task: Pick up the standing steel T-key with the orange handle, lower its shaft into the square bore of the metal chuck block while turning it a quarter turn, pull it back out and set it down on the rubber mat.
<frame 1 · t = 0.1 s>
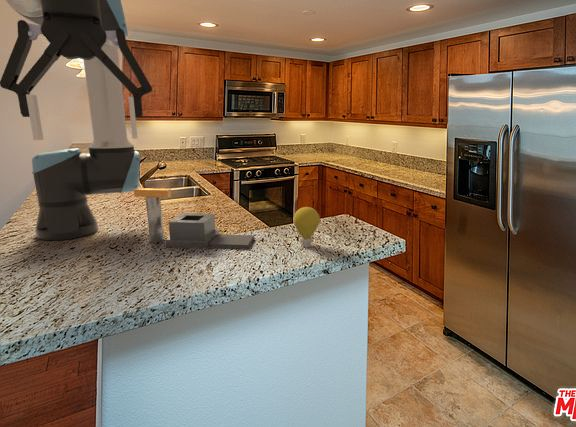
hand: (88, 139, 58), 28 cm above the countertop, fingers open, 13 cm apart
chuck: (194, 241, 96), on the countertop
key: (156, 240, 97), on the countertop
mat: (232, 243, 95), on the countertop
light bulb: (306, 246, 93), on the countertop
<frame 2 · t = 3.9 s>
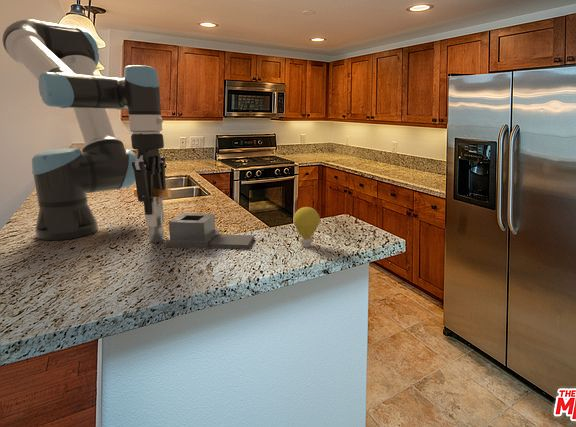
hand: (155, 223, 96), 5 cm above the countertop, fingers closed on key, 4 cm apart
key: (156, 240, 97), on the countertop, touching gripper
everything else where it was.
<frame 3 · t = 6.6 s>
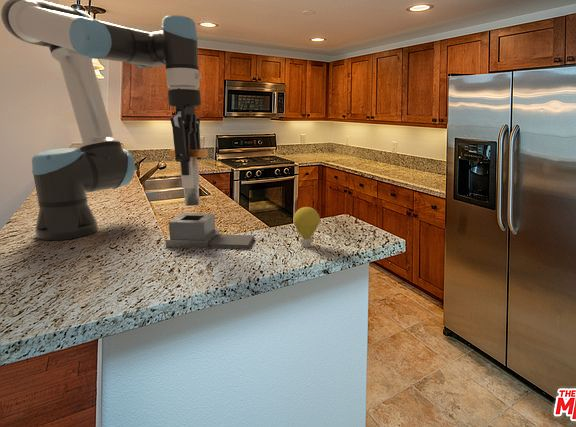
hand: (191, 186, 93), 15 cm above the countertop, fingers closed on key, 4 cm apart
key: (192, 204, 94), point 10 cm above the countertop, touching gripper
everything else where it was.
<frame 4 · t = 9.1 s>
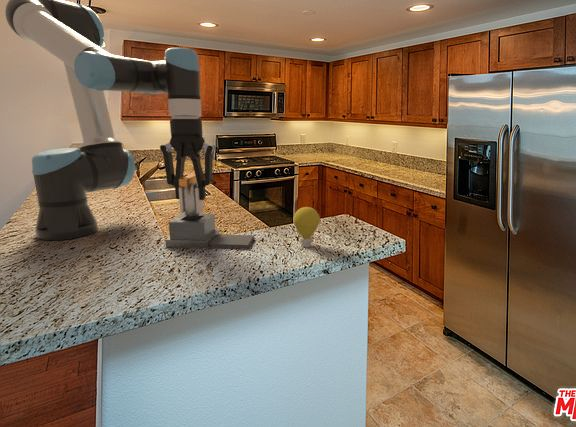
hand: (191, 211, 94), 8 cm above the countertop, fingers closed on key, 4 cm apart
key: (192, 228, 96), point 4 cm above the countertop, touching gripper
everything else where it was.
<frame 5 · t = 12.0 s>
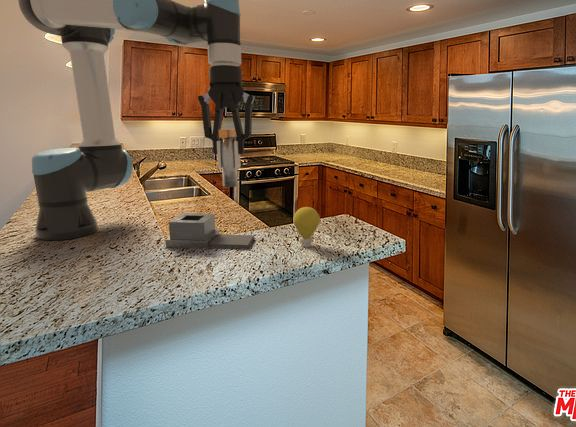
hand: (229, 167, 90), 20 cm above the countertop, fingers closed on key, 4 cm apart
key: (230, 185, 91), point 15 cm above the countertop, touching gripper
everything else where it was.
when the fingers open (7 cm above the countertop, at t = 14.4 s): key stays where it is, resting on mat.
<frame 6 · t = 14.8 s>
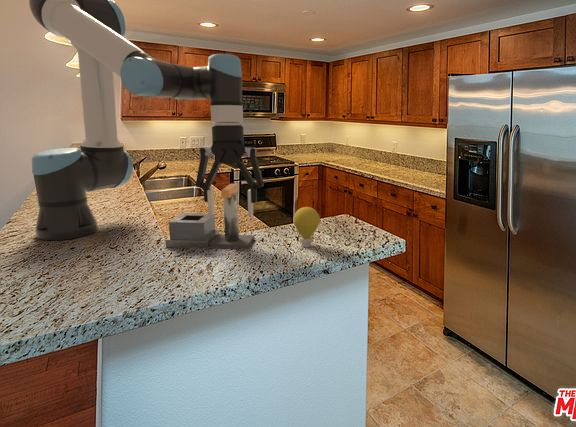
hand: (231, 214, 93), 8 cm above the countertop, fingers open, 9 cm apart
key: (232, 239, 95), point 1 cm above the countertop, touching mat
everything else where it was.
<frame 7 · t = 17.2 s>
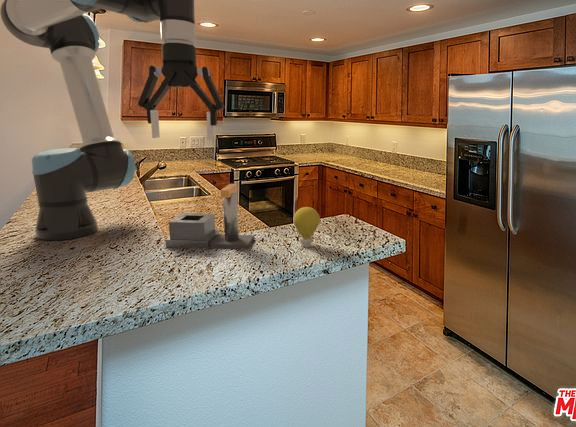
hand: (183, 138, 89), 27 cm above the countertop, fingers open, 13 cm apart
nothing on the countertop moved.
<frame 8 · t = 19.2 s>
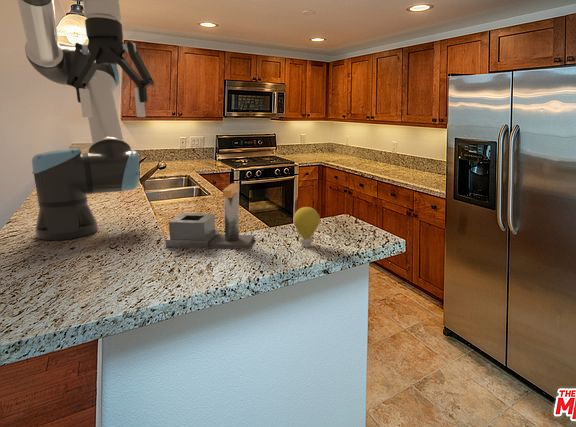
hand: (114, 117, 88), 32 cm above the countertop, fingers open, 13 cm apart
nothing on the countertop moved.
at the end: key 0.0 cm from the mat (horizontally); key point 1.0 cm above the countertop; the gripper is holding nothing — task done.
